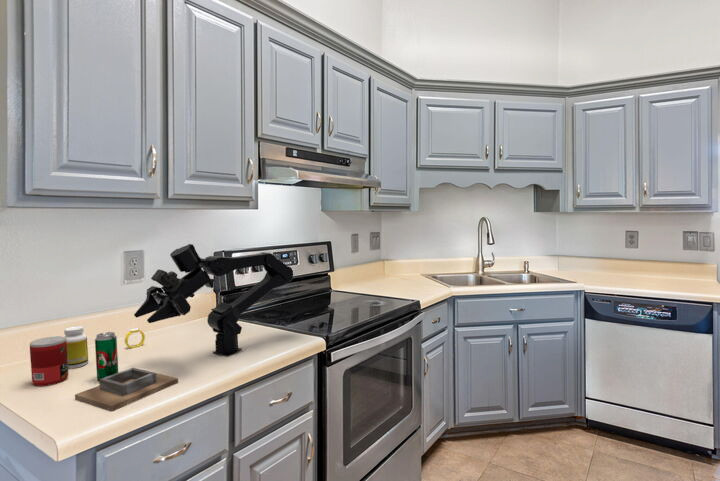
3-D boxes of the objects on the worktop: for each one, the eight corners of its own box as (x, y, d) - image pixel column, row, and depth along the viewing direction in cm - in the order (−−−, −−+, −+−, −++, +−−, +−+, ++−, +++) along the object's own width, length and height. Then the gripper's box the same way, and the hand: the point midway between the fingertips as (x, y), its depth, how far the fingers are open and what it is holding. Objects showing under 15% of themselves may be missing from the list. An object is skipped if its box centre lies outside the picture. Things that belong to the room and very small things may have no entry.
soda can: (114, 372, 122) (111, 330, 121) (121, 377, 119) (119, 333, 118) (94, 378, 118) (91, 334, 117) (101, 383, 115) (99, 338, 114)
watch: (128, 350, 142) (126, 333, 141) (124, 349, 144) (122, 331, 143) (146, 344, 147) (144, 327, 146) (142, 343, 149) (140, 326, 148)
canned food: (69, 381, 116) (66, 341, 115) (31, 389, 111) (28, 346, 110) (68, 373, 122) (65, 334, 121) (32, 379, 118) (29, 339, 117)
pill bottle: (92, 363, 129) (90, 326, 129) (70, 370, 124) (68, 332, 123) (81, 360, 133) (79, 324, 132) (59, 366, 127) (56, 329, 126)
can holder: (142, 373, 121) (142, 360, 121) (178, 382, 115) (177, 368, 114) (75, 399, 105) (74, 384, 105) (112, 411, 99) (111, 395, 98)
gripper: (161, 259, 132) (112, 291, 122) (189, 264, 119) (137, 300, 109) (180, 289, 136) (134, 321, 127) (209, 297, 123) (161, 334, 114)
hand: (141, 318), depth 119 cm, fingers open, 9 cm apart
